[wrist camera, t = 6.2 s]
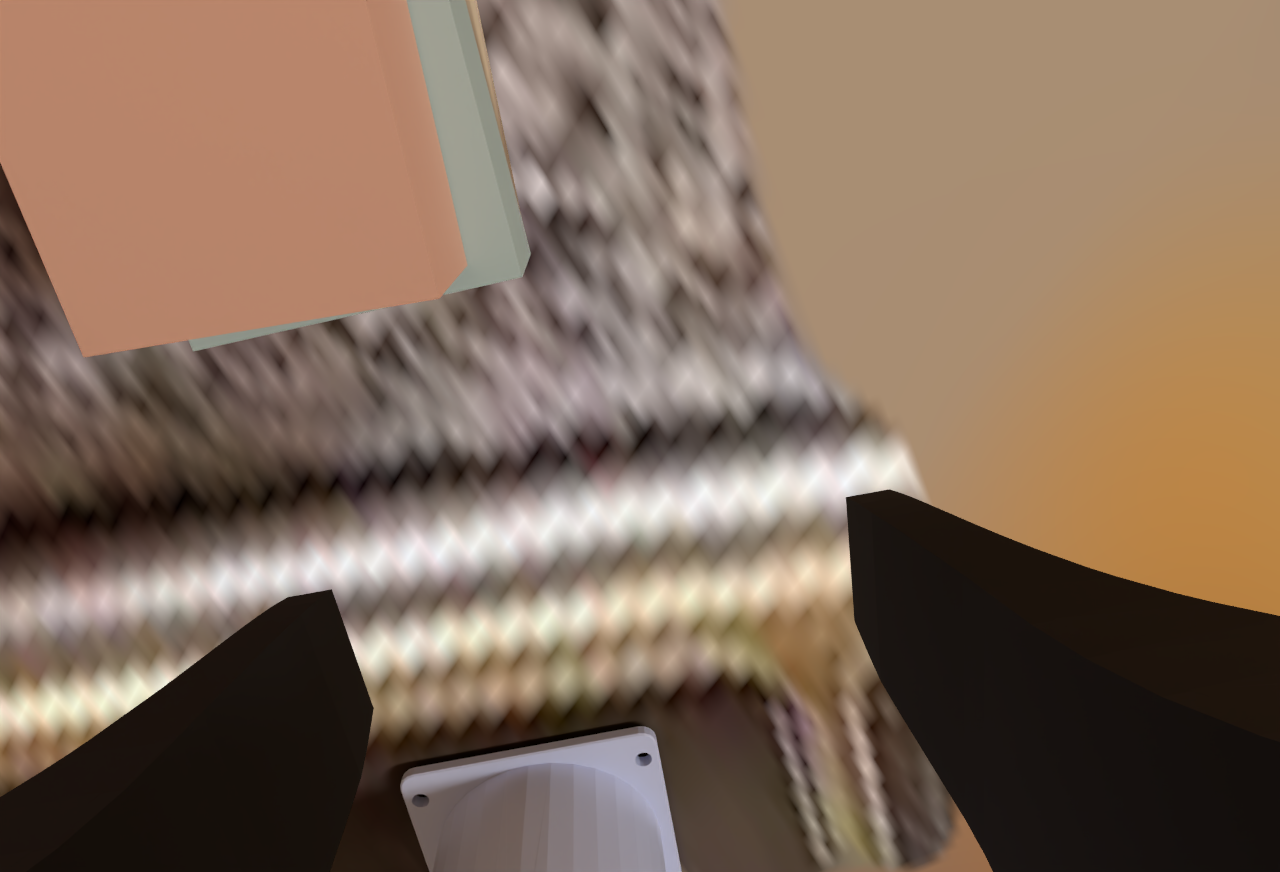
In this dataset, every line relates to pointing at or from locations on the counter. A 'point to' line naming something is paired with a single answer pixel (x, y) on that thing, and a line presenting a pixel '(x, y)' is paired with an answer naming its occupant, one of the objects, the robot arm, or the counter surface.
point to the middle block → (456, 157)
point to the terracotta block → (223, 163)
